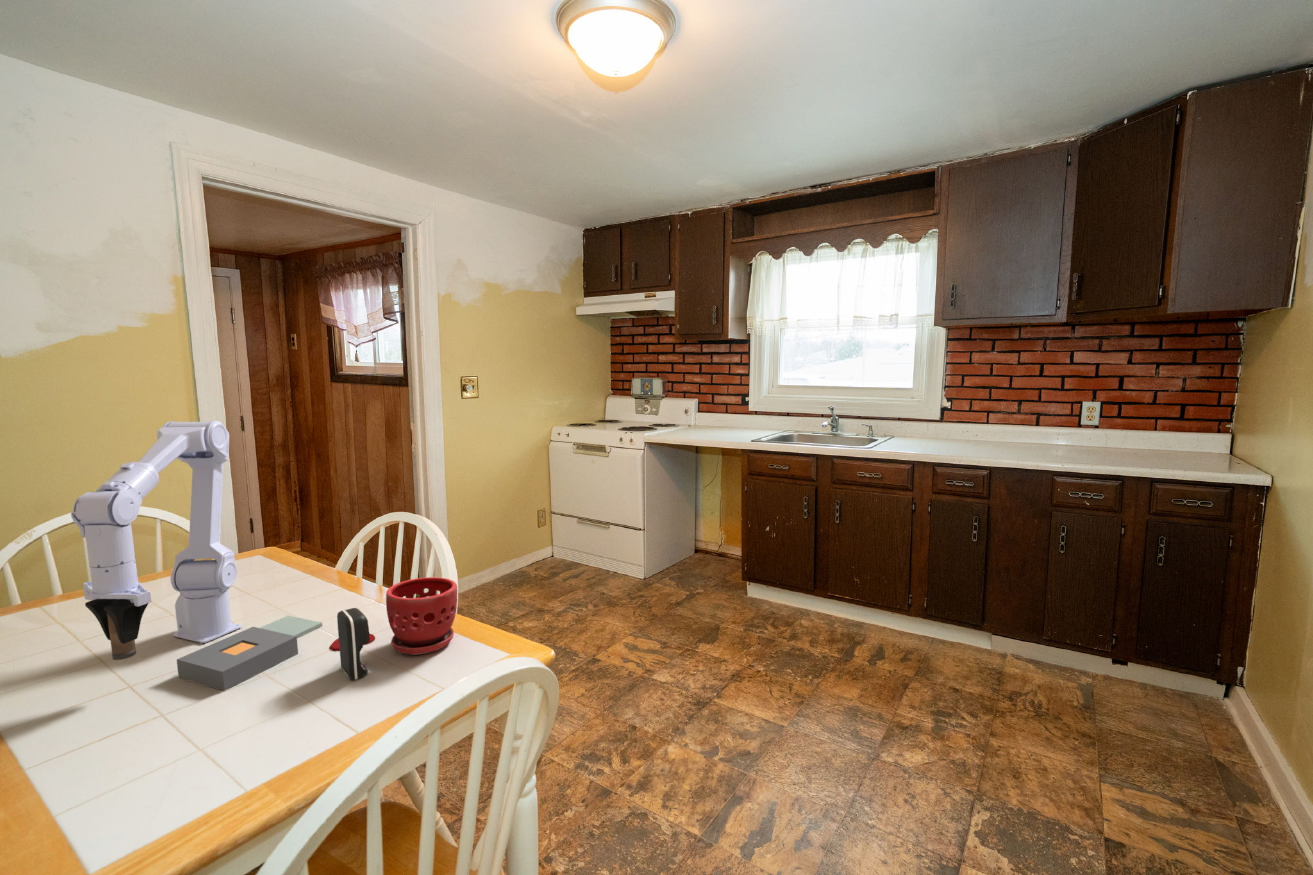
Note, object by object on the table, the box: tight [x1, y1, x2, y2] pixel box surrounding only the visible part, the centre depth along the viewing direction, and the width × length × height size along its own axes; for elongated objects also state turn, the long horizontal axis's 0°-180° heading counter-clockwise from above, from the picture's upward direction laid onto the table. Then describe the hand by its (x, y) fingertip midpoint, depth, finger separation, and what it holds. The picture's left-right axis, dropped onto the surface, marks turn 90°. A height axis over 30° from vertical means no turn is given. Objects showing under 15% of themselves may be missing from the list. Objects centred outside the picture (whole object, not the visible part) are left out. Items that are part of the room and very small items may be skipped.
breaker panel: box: [176, 626, 299, 692], centre depth 112 cm, size 12×14×4 cm
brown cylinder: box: [107, 613, 137, 661], centre depth 102 cm, size 3×3×8 cm
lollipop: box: [329, 632, 376, 652], centre depth 125 cm, size 8×1×15 cm
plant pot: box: [385, 576, 458, 656], centre depth 120 cm, size 13×13×12 cm
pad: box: [260, 615, 323, 639], centre depth 126 cm, size 10×9×1 cm
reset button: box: [222, 643, 255, 655], centre depth 112 cm, size 4×4×1 cm
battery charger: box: [336, 607, 370, 681], centre depth 109 cm, size 7×4×11 cm, turn 42°
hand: (122, 639), depth 102 cm, fingers closed on brown cylinder, 3 cm apart
